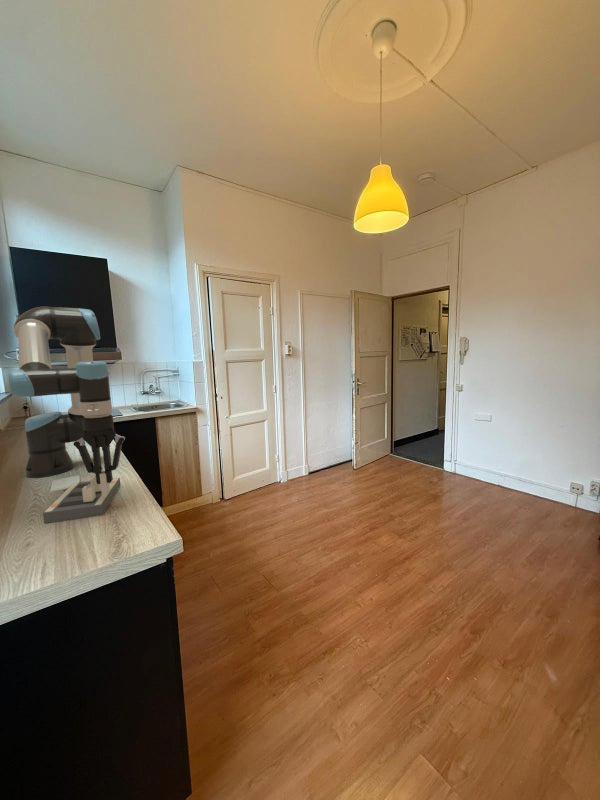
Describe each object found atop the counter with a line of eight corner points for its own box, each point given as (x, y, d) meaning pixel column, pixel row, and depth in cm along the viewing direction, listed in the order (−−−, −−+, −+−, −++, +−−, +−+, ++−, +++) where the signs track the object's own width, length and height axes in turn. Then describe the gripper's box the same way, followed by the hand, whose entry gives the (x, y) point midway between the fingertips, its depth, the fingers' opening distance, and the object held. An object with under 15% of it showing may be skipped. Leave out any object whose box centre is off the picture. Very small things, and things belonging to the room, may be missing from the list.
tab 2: (93, 489, 100) (92, 476, 100) (102, 488, 101) (100, 475, 100) (91, 492, 98) (89, 479, 97) (100, 491, 99) (98, 478, 98)
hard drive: (52, 480, 115) (49, 491, 105) (79, 474, 120) (79, 485, 110) (52, 484, 116) (50, 496, 106) (80, 479, 120) (80, 489, 110)
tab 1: (86, 498, 94) (84, 484, 93) (95, 497, 94) (94, 483, 94) (83, 502, 91) (81, 487, 91) (93, 501, 92) (91, 486, 91)
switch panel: (74, 491, 107) (73, 482, 107) (120, 485, 112) (119, 477, 111) (44, 523, 87) (42, 512, 86) (102, 514, 91) (101, 504, 90)
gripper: (65, 419, 85) (75, 502, 89) (119, 415, 89) (127, 495, 92) (75, 414, 92) (84, 491, 96) (125, 411, 96) (132, 485, 100)
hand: (105, 493), depth 94 cm, fingers closed
